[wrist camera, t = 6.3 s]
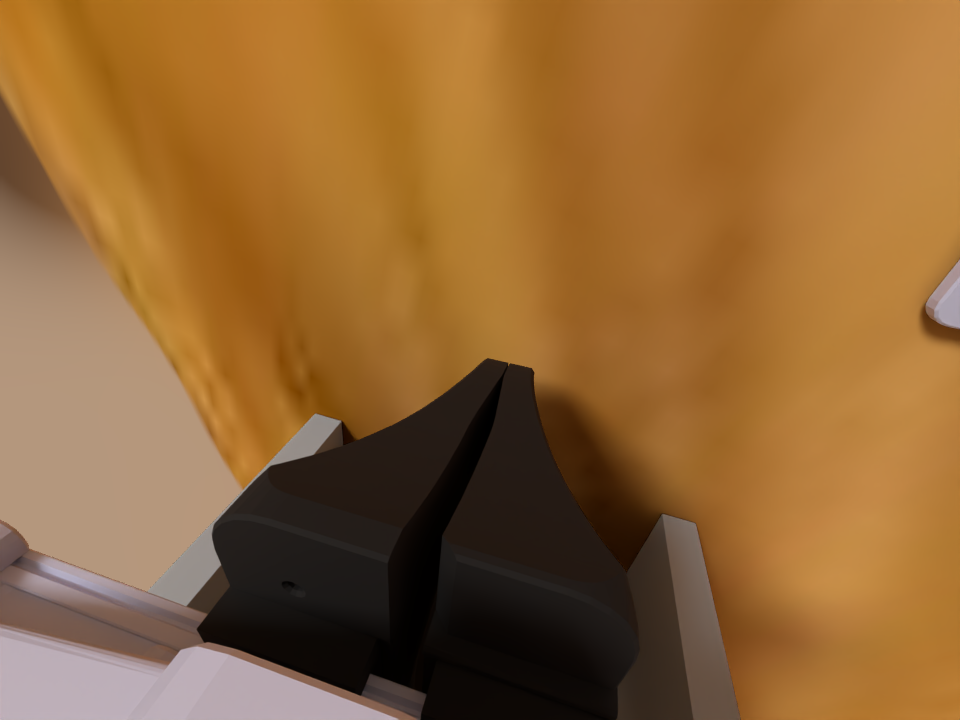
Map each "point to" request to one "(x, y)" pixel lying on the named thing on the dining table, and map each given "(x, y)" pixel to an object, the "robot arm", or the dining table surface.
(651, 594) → the counter bay
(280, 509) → the robot arm
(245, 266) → the dining table surface
